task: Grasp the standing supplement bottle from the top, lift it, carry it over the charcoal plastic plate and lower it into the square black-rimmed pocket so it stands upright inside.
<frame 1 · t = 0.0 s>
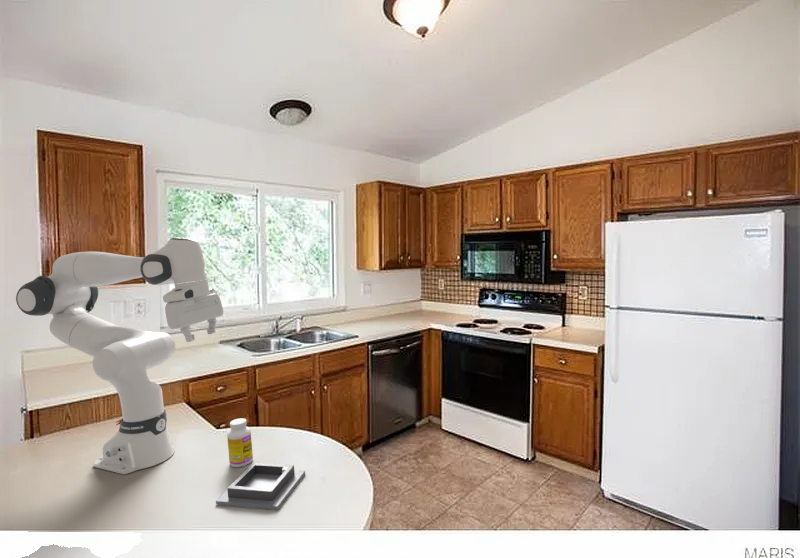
hand: (201, 337, 124), 39 cm above the counter, tool pointing down, fingers open, 8 cm apart
supplement bottle: (241, 462, 127), on the counter
pocket plate: (263, 488, 112), on the counter
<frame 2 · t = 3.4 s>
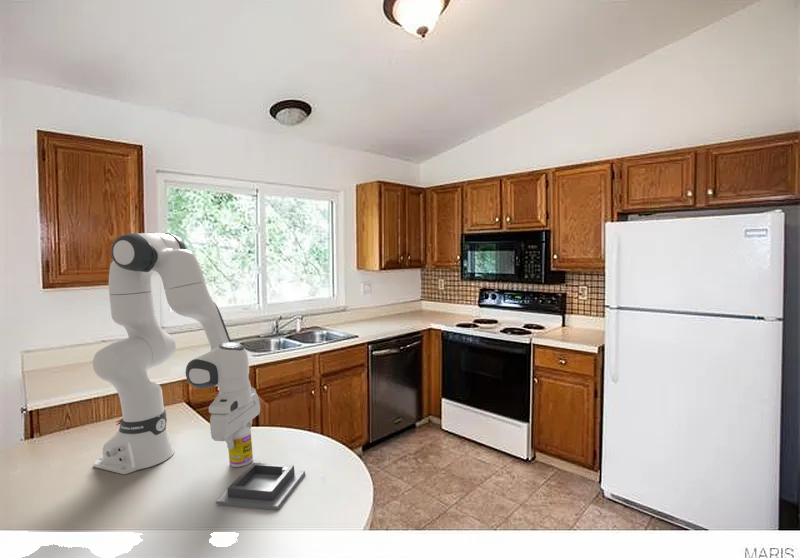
hand: (239, 441, 126), 7 cm above the counter, tool pointing down, fingers closed on supplement bottle, 7 cm apart
supplement bottle: (241, 462, 127), on the counter, touching gripper
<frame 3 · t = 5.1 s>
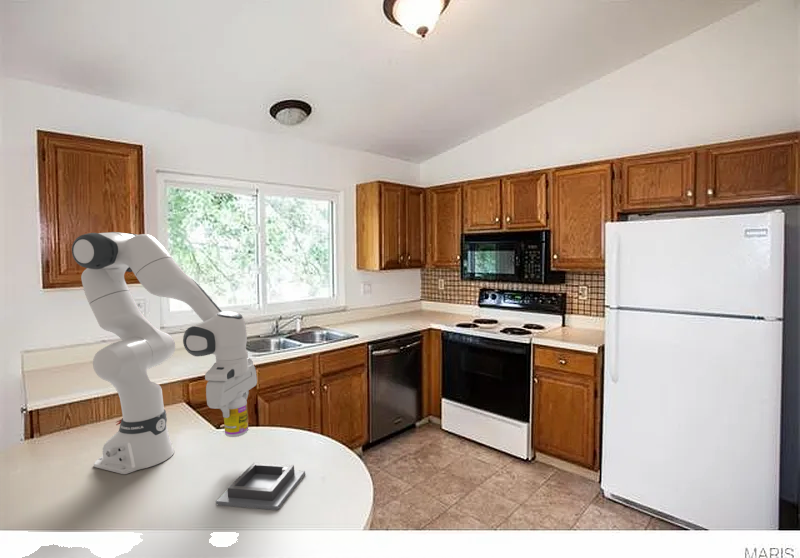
hand: (235, 411, 125), 16 cm above the counter, tool pointing down, fingers closed on supplement bottle, 7 cm apart
supplement bottle: (237, 433, 126), point 9 cm above the counter, touching gripper
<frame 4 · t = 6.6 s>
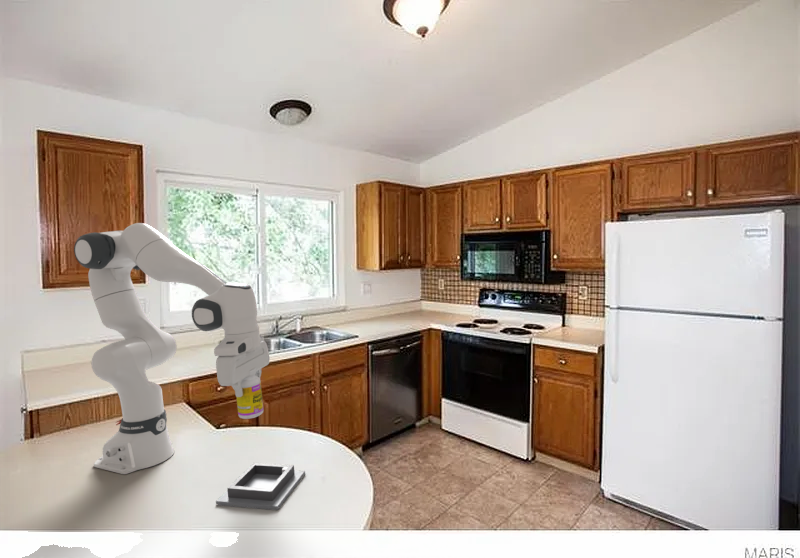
hand: (248, 390, 115), 25 cm above the counter, tool pointing down, fingers closed on supplement bottle, 7 cm apart
supplement bottle: (251, 415, 116), point 18 cm above the counter, touching gripper
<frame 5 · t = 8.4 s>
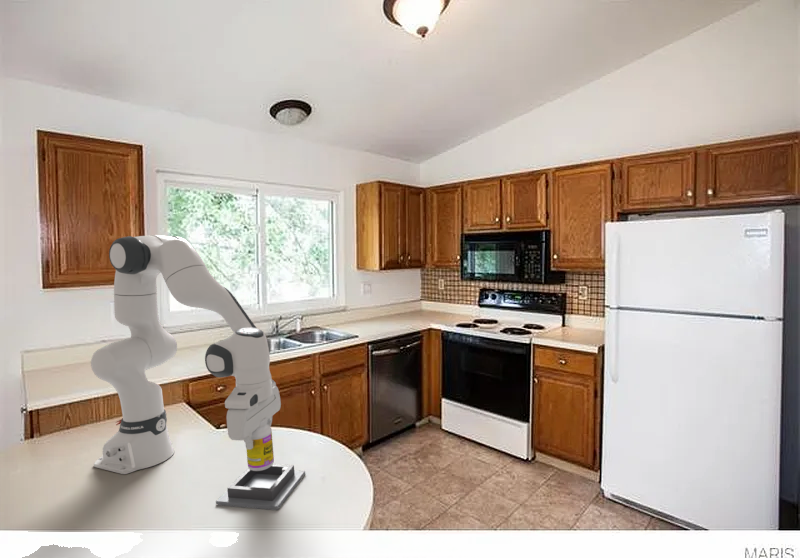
hand: (258, 440, 111), 13 cm above the counter, tool pointing down, fingers closed on supplement bottle, 7 cm apart
supplement bottle: (261, 466, 111), point 6 cm above the counter, touching gripper
when the fingers open (9 cm above the counter, at t = 9.9 s): supplement bottle drops 1 cm, resting on pocket plate.
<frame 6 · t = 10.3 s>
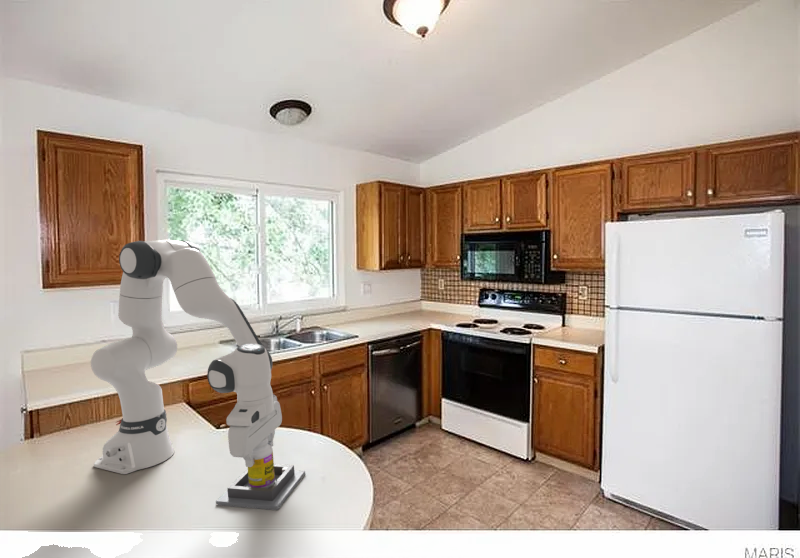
hand: (260, 456, 111), 9 cm above the counter, tool pointing down, fingers open, 8 cm apart
supplement bottle: (262, 485, 112), point 1 cm above the counter, touching pocket plate
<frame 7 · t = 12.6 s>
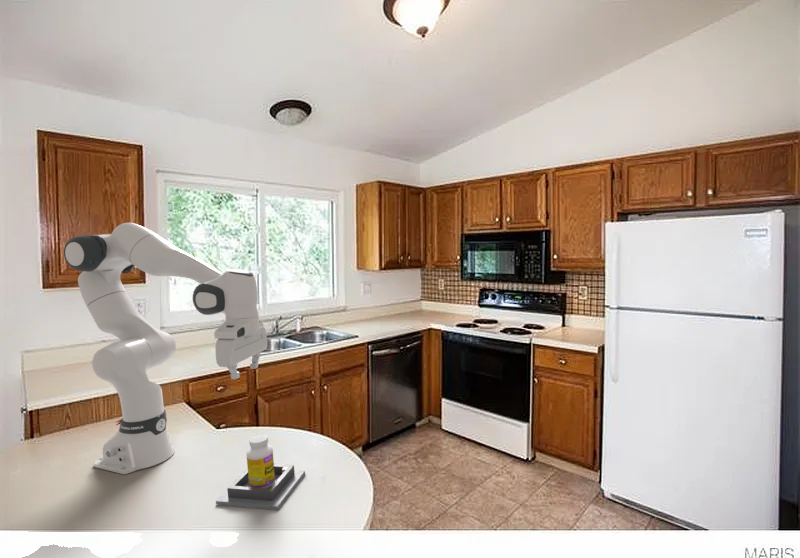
hand: (245, 373, 121), 29 cm above the counter, tool pointing down, fingers open, 8 cm apart
nothing on the counter moved.
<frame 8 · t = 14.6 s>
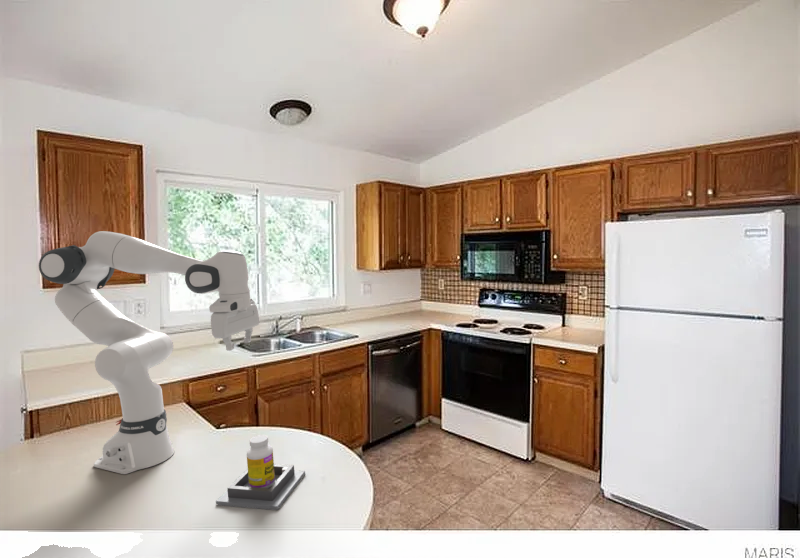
hand: (239, 346, 131), 34 cm above the counter, tool pointing down, fingers open, 8 cm apart
nothing on the counter moved.
at the end: supplement bottle 0.2 cm off-centre on the pocket plate, point 0.8 cm above the pocket plate's base; supplement bottle tilted 0°; the gripper is holding nothing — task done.
